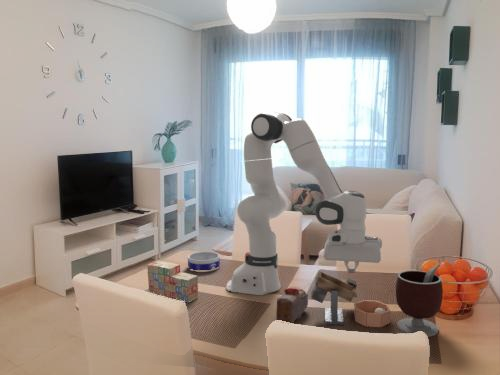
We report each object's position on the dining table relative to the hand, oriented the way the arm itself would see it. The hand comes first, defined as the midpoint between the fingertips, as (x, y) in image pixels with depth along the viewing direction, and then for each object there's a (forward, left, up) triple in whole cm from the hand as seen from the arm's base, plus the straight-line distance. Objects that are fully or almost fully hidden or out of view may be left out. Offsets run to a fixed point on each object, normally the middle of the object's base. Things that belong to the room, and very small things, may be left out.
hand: (351, 272), depth 155 cm
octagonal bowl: (+6, -13, -12) cm, 19 cm away
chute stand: (-6, -13, -12) cm, 19 cm away
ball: (+9, -13, -10) cm, 18 cm away
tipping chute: (-8, -7, -7) cm, 13 cm away
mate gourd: (+21, -17, -12) cm, 29 cm away
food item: (-21, -13, -12) cm, 27 cm away
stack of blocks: (-69, 0, -12) cm, 70 cm away
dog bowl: (-66, +36, -12) cm, 77 cm away
